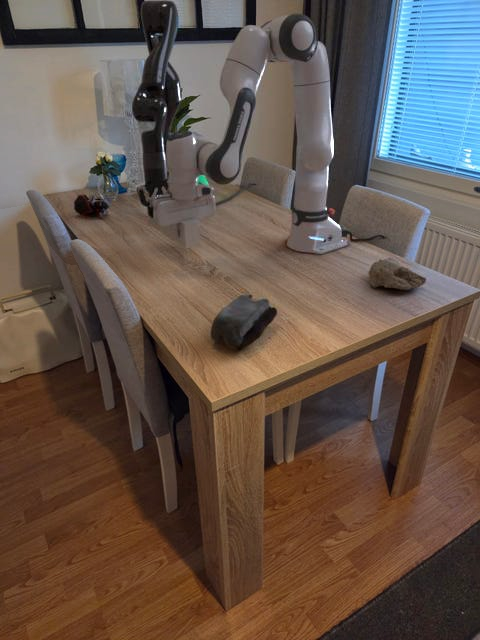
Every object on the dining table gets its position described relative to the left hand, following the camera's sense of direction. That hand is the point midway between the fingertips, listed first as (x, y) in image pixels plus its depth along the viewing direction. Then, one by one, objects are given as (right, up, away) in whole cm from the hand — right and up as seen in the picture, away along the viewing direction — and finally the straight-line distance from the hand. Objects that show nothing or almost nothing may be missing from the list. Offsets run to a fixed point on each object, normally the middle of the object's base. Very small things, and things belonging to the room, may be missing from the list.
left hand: (159, 215), depth 153 cm
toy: (-35, +8, +36) cm, 51 cm away
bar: (+5, -7, -5) cm, 10 cm away
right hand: (+11, -9, -13) cm, 19 cm away
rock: (+29, -40, -41) cm, 64 cm away
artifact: (+74, -25, -16) cm, 80 cm away
